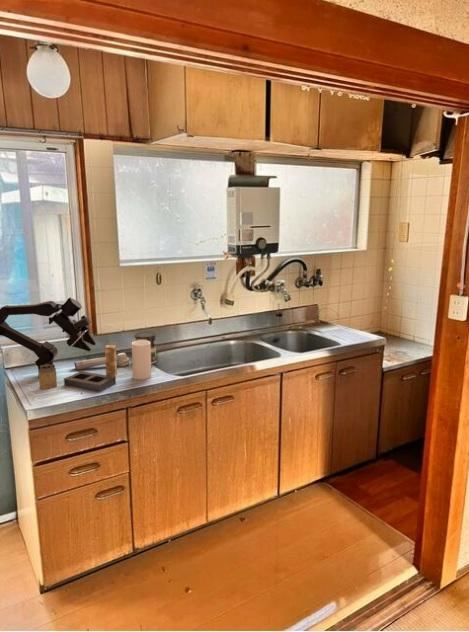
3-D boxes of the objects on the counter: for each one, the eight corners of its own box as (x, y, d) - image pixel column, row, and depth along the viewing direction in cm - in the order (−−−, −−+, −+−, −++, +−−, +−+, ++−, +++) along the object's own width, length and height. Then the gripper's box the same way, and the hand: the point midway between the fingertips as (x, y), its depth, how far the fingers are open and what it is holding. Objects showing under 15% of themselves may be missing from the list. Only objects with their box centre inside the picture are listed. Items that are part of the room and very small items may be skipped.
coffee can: (154, 357, 238) (154, 331, 235) (157, 363, 228) (156, 336, 225) (134, 359, 235) (133, 332, 232) (136, 365, 225) (135, 337, 222)
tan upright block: (56, 384, 200) (54, 362, 197) (58, 387, 196) (56, 364, 194) (38, 387, 196) (36, 364, 194) (40, 390, 193) (38, 367, 191)
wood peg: (106, 377, 209) (104, 347, 206) (108, 374, 213) (106, 345, 210) (115, 377, 209) (114, 347, 206) (117, 374, 213) (115, 345, 210)
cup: (132, 379, 206) (131, 345, 203) (133, 373, 214) (132, 340, 211) (151, 379, 207) (150, 344, 204) (151, 373, 215) (150, 339, 212)
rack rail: (64, 385, 198) (63, 378, 198) (81, 377, 208) (81, 371, 208) (99, 392, 192) (99, 385, 191) (115, 383, 202) (115, 377, 201)
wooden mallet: (74, 360, 220) (126, 349, 228) (76, 373, 222) (129, 361, 229) (74, 363, 215) (128, 352, 223) (77, 377, 217) (130, 364, 225)
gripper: (72, 315, 194) (100, 341, 198) (83, 306, 213) (109, 330, 216) (54, 333, 196) (82, 358, 199) (67, 323, 214) (92, 346, 217)
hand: (92, 347), depth 208 cm, fingers open, 9 cm apart
